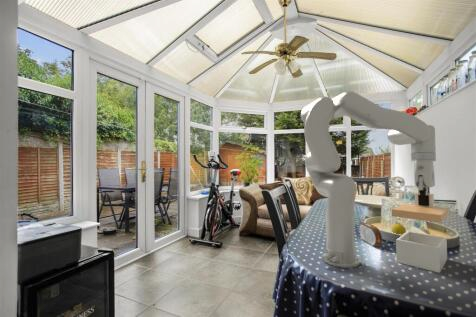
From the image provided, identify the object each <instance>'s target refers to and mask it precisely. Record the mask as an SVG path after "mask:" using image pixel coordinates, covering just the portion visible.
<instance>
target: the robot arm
mask: <svg viewBox="0 0 476 317" xmlns="http://www.w3.org/2000/svg"><path fill="white" fill-rule="evenodd" d="M342 117H348V118H349V119H352V120H353V121H355V122H357V123H359V124H360V125H363V126H364V127H366V128H370V129H378V130H381V129H382V130H388V132H387V134H386V135H387V140H388V141H389V142H390V143H391V144H393V145H397V146H402V145H403V146H404V145H410V156H411V157H410V160H411V162H414V166H413V167H414V168H413V171H414V172H413V173H414V174H413V175H414V176H413V178H414V186H416V187H417V189H418V190H417V191H418V192H417V193H418V205H421V206H429V195H428V194H431V192H430V191H431V190H430V189H431V188H433V187H435V186H436V178H435V166H434V162H437V155H436V154H437V150H436V128H435V126H434V125H432V124H427V123H426V122H425V121H423V120H421V119H420V118H419V117H417V116H415V115H413V114H411V113H408V112H404V111H400V110H395V109H392V108H387V107H382V106H381V105H379V104H376V103H374V102H373V101H371V100H369V99H367V98H366V97H364V96H362V95H361V94H359V93H357V92H355V91H353V90H352V91H351V90H346V91H344V92H341V93H339V94H338V95H335V96H334V97H332V98H331V97H328V96H320V97H318V98H316V99H314V100H313V101H311V102H310V103H309V104H307V105H305V106H304V107H303V108H302V109H301V111H300V119H301V121H302V123H304V128H303V135H304V139H305V142H306V145H307V147H308V149H309V151H308V152H307V153H306V155H305V158H304V165H305V168H306V171H307V173H308V175H309V178H310V179H311V182H312V184H313V186H314V188H315V189H316V191H317V193H318V194H319V195H321V196H323V197H325V198H327V202H326V207H325V233H326V234H325V236H326V237H325V238H326V240H325V241H326V243H325V245H326V249H325V250H326V252H324V253H323V254H322V255H321V259H322V261H323V263H326V264H328V265H330V266H333V267H337V268H343V269H344V268H345V269H353V268H357V267H358V266H359V265H361V260H360V259H359V257H357V256H355V255H356V252H355V250H356V248H355V247H356V246H355V244H356V242H355V241H356V240H355V238H356V237H355V204H356V203H355V202H356V197H357V185H356V182H355V181H354V179H353V177H351V176H349V175H347V174H345V173H344V174H343V173H335V172H336V171H338V170H339V169H340V168H341V165H342V164H341V163H342V162H341V161H342V160H341V157H340V155H339V152H338V150H337V148H336V145H335V144H334V141H333V140H332V137H331V134H330V131H329V130H330V129H329V126H330V122H331V121H333V120H337V119H340V118H342Z"/></svg>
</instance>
